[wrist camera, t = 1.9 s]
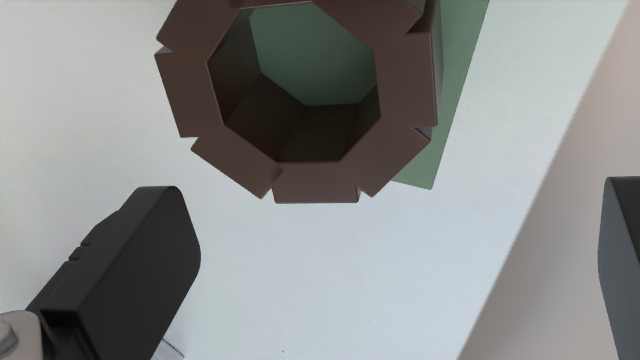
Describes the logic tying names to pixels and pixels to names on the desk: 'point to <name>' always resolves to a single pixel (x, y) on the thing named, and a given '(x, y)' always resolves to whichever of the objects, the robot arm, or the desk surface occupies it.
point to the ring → (289, 113)
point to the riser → (360, 65)
